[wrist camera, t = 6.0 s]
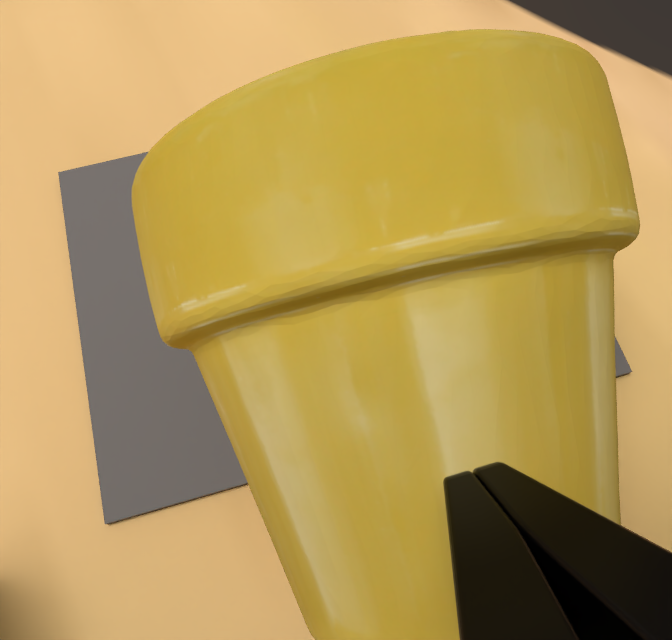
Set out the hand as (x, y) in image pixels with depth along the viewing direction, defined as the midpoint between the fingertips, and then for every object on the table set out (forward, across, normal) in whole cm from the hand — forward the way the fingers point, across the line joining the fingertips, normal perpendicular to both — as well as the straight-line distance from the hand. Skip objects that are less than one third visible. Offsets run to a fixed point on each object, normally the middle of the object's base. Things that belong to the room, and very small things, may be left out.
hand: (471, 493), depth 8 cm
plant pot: (+2, 0, +5) cm, 6 cm away
